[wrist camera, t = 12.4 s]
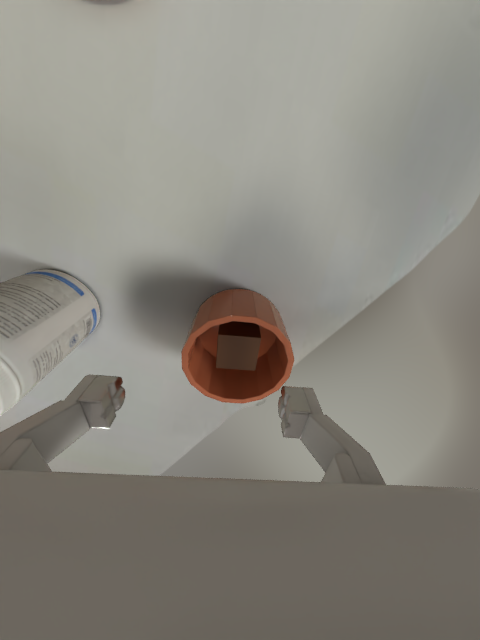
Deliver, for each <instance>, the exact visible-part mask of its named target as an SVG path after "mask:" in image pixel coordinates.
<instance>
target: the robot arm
mask: <svg viewBox="0 0 480 640" xmlns="http://www.w3.org/2000/svg"><path fill="white" fill-rule="evenodd" d="M122 383H123V381H122V378H121V377H116V376H104V375H90V374H89V375H87V376H85V377H84V378H83V379H82V380H81V382H80V383H79V384H78V385H77V386H76V387H75V388H74V390H73V391H72V392H71V393H70V394H69V395H68V396H67V398H66V399H65V400H64V401H61V400H60V401H59V402H57V403H55V404H53V405H51V406H49V407H47V408H45V409H43V410H42V411H40V412H38V413H36V414H34V415H32V416H30V417H28V418H26V419H25V420H23V421H21V422H19V423H17V424H15V425H13V426H11V427H10V428H8V429H6V430H4V431H2V432H0V640H480V490H478V489H472V488H454V487H428V486H403V485H386V484H385V482H384V480H383V478H382V476H381V474H380V472H379V470H378V468H377V466H376V465H375V463H374V461H373V459H372V457H371V455H370V453H369V452H367V451H366V450H365V449H364V448H363V447H362V446H361V445H360V444H358V443H357V442H356V441H355V440H354V439H353V438H352V437H351V436H349V435H348V434H347V433H346V432H345V431H344V430H343V429H342V428H340V427H339V426H338V425H337V424H336V423H335V422H334V421H333V420H332V419H330V418H329V417H328V416H327V415H323V412H322V410H321V407H320V405H319V402H318V400H317V397H316V395H315V393H314V390H313V389H312V388H306V387H286V386H283V387H282V390H281V394H282V396H281V397H280V398H279V403H278V412H279V417H280V418H281V419H282V422H281V428H282V433H283V437H288V438H300V440H301V441H302V442H303V444H304V445H305V446H306V448H307V449H308V450H309V452H310V453H311V454H312V456H313V457H314V458H315V459H316V461H317V462H318V463H319V465H320V466H321V467H322V469H323V470H324V471H325V475H324V477H323V479H322V481H321V482H302V481H301V482H299V481H274V480H251V479H226V478H200V477H199V478H198V477H174V476H149V475H123V474H98V473H73V472H52V471H51V469H50V467H49V466H48V463H49V462H50V461H51V460H53V459H54V458H55V457H56V456H58V455H59V454H60V453H61V452H63V451H64V450H65V449H66V448H68V447H69V446H70V445H71V444H72V443H74V442H75V441H76V440H77V439H79V438H80V437H81V436H82V435H84V434H85V433H86V432H87V431H89V430H90V428H101V429H109V428H110V426H111V424H112V422H113V421H114V419H115V417H116V414H115V412H116V411H117V410H119V409H120V408H121V407H122V405H123V403H124V399H125V390H124V388H123V387H122V386H121V384H122Z"/></svg>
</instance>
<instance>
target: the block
mask: <svg viewBox="0 0 480 640" xmlns="http://www.w3.org/2000/svg"><path fill="white" fill-rule="evenodd" d="M260 342H261V334H260V328H259V325H258V324H255V323H249V322H238V321H231V322H227V323H224V324H220V325H219V331H218V341H217V356H216V368H223V369H237V370H251V371H255V370H256V364H257V359H258V353H259V348H260Z"/></svg>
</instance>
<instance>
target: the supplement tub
mask: <svg viewBox="0 0 480 640" xmlns="http://www.w3.org/2000/svg"><path fill="white" fill-rule="evenodd" d="M99 320H100V308H99V305H98V302H97V300H96V298H95V297H94V295H93V294H92V292H91V291H90V290H89V289H88V288H87V287H86V286H85V285H83V284H82V283H81V282H80V281H78V280H77V279H75V278H74V277H72V276H70V275H68V274H65V273H62V272H59V271H55V270H36V271H32V272H30V273H27V274H24V275H21V276H18V277H16V278H13V279H10V280H8V281H5V282H2V283H0V416H1V415H3V414H4V413H5V412H6V411H7V410H9V409H11V408H12V407H14V406H15V405H16V403H17V402H19V401H20V400H21V399H22V398H23V397H24V396H25V395H26V394H27V393H28V392H29V391H31V390H32V389H33V388H34V387H35V386H36V385H37V384H38V383H39V382H40V381H41V380H42V379H43V378H44V377H45V376H46V375H47V374H48V373H49V372H50V371H51V370H52V369H54V368H55V367H56V366H57V365H58V364H59V363H60V362H61V361H62V360H63V359H64V358H65V357H66V356H67V355H68V354H69V353H70V352H71V351H72V350H73V349H74V348H75V347H76V346H78V345H79V344H80V343H81V342H82V341H83V340H84V339H85V338H86V337H87V336H88V335H89V334H90V333H91V332H92V331H93V330H94V329H95V328H96V327H97V325H98V323H99Z"/></svg>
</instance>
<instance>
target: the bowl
mask: <svg viewBox="0 0 480 640" xmlns="http://www.w3.org/2000/svg"><path fill="white" fill-rule="evenodd" d="M231 321H238V322H249V323H255V324H258V325H259V328H260V334H261V342H260V348H259V353H258V359H257V364H256V370H255V371H251V370H237V369H223V368H216V356H217V341H218V331H219V325H220V324H224V323H227V322H231ZM293 363H294V356H293V352H292V347H291V343H290V340H289V337H288V335H287V332H286V329H285V327H284V324H283V321H282V319H281V316H280V313H279V312H278V311H277V309H276V308H275V306H274V305H273V304H272V303H271V302H270V301H269V300H268V299H267V298H266V297H264V296H262V295H261V294H259V293H256V292H254V291H250V290H246V289H229V290H225V291H222V292H219V293H216V294H215V295H213V296H211V297H210V298H208V299H207V300H206V301H205V302H204V303H203V304H202V305H201V306H200V307H199V309H198V311H197V313H196V315H195V317H194V319H193V322H192V325H191V327H190V330H189V333H188V336H187V338H186V341H185V344H184V346H183V349H182V369H183V371H184V373H185V375H186V377H187V378H188V380H189V382H190V384H191V385H192V386H194V387H195V388H196V389H197V390H199V391H200V392H201V393H202V394H204V395H205V396H207V397H210V398H213V399H216V400H218V401H221V402H229V403H247V402H251V401H256V400H261V399H263V398H265V397H267V396H268V395H270V394H272V393H274V392H275V391H277V390H279V389H280V387H281V386H282V385H283V384H284V383H285V382H286V380H287V379H288V378H289V376H290V373H291V370H292V366H293Z"/></svg>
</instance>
